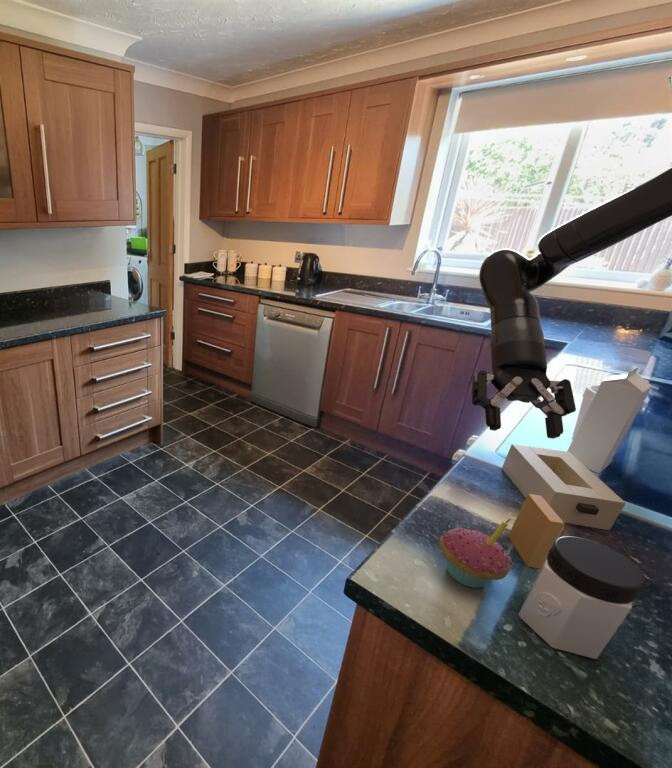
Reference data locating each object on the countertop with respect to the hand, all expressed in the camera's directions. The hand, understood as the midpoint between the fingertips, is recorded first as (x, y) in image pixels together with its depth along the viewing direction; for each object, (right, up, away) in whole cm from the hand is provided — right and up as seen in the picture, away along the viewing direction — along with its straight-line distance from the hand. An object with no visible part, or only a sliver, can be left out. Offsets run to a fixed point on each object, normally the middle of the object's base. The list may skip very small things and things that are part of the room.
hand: (524, 433), depth 72 cm
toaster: (+13, -13, +9) cm, 21 cm away
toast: (-3, -19, -4) cm, 19 cm away
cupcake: (-16, -21, -8) cm, 27 cm away
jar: (-9, -24, -15) cm, 30 cm away
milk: (+31, -9, +20) cm, 38 cm away
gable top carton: (+39, -6, +28) cm, 48 cm away
